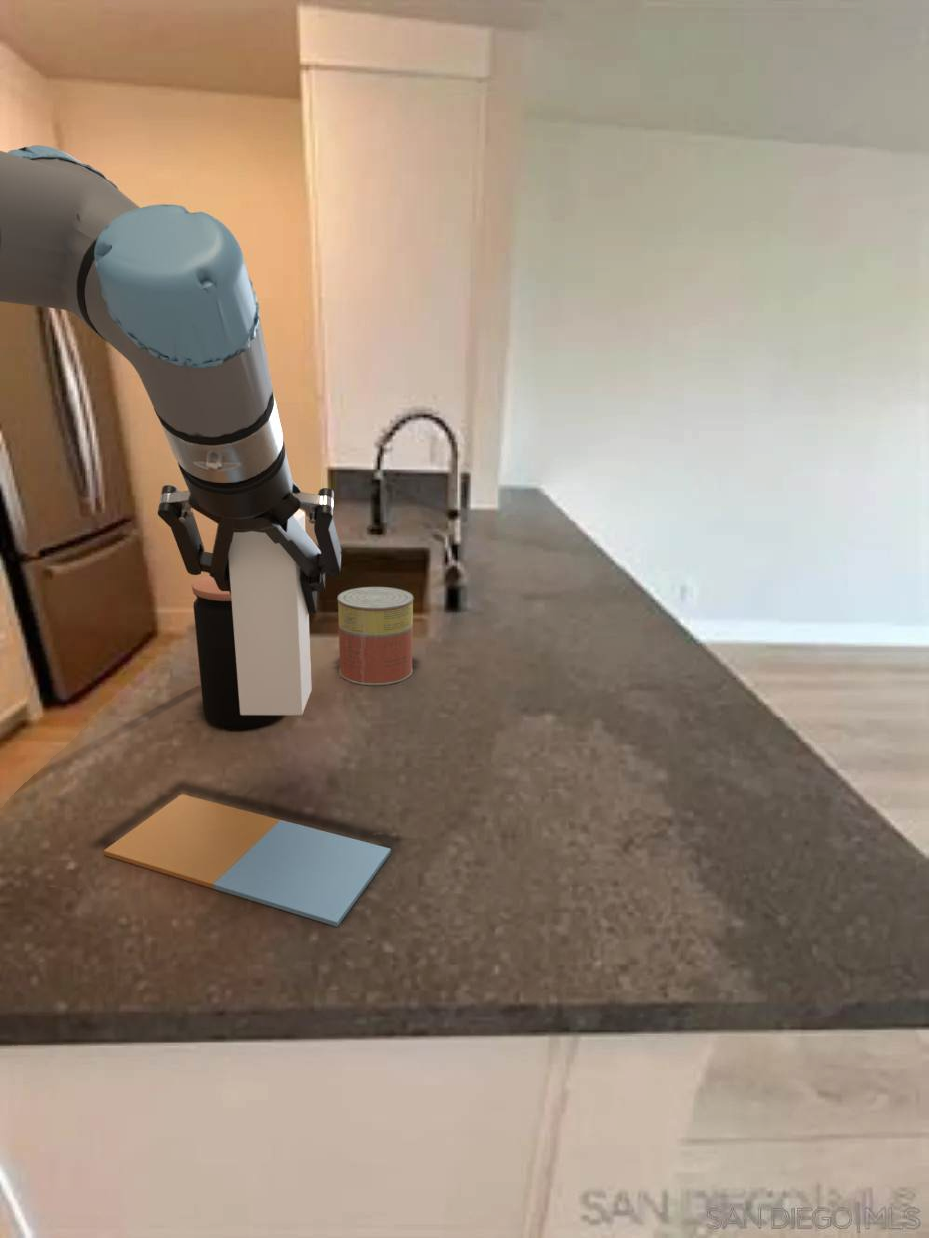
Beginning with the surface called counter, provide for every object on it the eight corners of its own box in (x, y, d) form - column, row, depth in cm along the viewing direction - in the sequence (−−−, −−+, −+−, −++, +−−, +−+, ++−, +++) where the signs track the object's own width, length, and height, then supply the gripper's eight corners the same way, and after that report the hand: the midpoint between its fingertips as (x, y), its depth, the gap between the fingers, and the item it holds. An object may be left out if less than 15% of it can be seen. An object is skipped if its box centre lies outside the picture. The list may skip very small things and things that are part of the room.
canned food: (403, 655, 111) (403, 585, 107) (420, 681, 101) (422, 605, 97) (334, 660, 108) (332, 588, 104) (345, 689, 98) (343, 610, 94)
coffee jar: (300, 719, 88) (294, 586, 82) (216, 739, 82) (204, 598, 76) (272, 690, 96) (265, 568, 91) (194, 707, 90) (181, 577, 85)
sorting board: (103, 855, 61) (103, 850, 61) (182, 797, 70) (181, 793, 70) (337, 927, 54) (337, 922, 54) (391, 852, 63) (391, 848, 63)
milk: (311, 691, 71) (305, 479, 64) (302, 716, 65) (294, 486, 58) (253, 690, 70) (240, 476, 64) (238, 716, 65) (222, 484, 58)
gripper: (76, 486, 45) (175, 635, 66) (365, 492, 47) (373, 634, 68) (98, 402, 48) (185, 569, 69) (367, 411, 51) (374, 570, 71)
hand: (278, 601), depth 68 cm, fingers closed on milk, 6 cm apart
